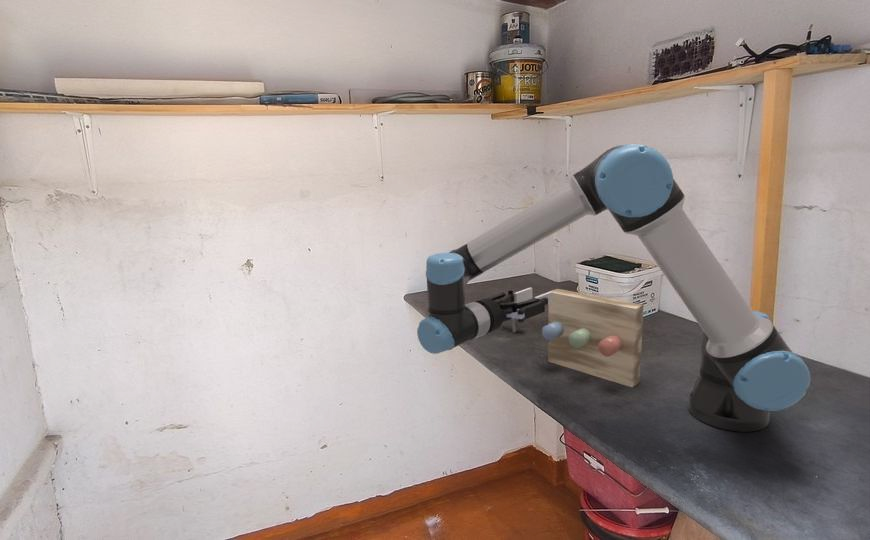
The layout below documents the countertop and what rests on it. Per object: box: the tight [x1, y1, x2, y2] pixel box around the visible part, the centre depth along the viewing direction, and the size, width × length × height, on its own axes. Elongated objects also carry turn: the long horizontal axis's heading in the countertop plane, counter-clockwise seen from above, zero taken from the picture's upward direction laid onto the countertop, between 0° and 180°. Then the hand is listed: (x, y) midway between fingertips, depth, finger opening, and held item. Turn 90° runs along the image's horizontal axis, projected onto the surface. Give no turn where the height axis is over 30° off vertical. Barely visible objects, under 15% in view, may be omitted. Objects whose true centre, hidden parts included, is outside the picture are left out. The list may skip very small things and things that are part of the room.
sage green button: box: [569, 328, 592, 348], centre depth 125 cm, size 4×4×4 cm
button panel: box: [547, 288, 644, 388], centre depth 129 cm, size 4×24×20 cm, turn 43°
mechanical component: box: [511, 318, 518, 333], centre depth 162 cm, size 3×10×10 cm, turn 41°
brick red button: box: [598, 335, 622, 356], centre depth 120 cm, size 4×4×4 cm
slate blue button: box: [541, 322, 564, 341], centre depth 131 cm, size 4×4×4 cm
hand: (541, 294), depth 125 cm, fingers open, 5 cm apart
